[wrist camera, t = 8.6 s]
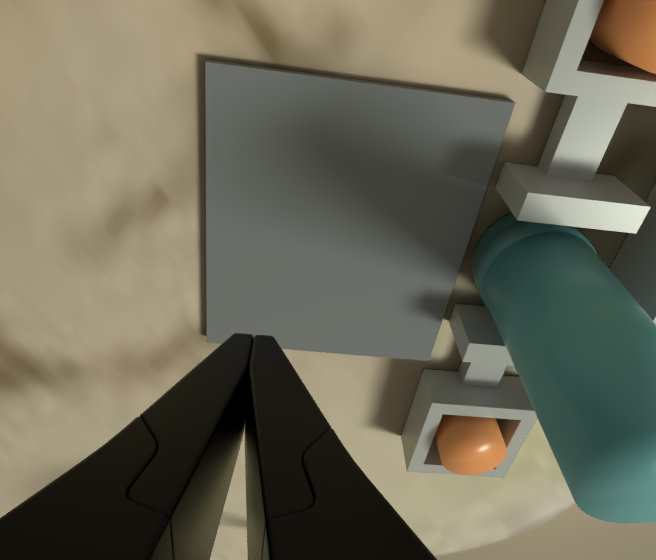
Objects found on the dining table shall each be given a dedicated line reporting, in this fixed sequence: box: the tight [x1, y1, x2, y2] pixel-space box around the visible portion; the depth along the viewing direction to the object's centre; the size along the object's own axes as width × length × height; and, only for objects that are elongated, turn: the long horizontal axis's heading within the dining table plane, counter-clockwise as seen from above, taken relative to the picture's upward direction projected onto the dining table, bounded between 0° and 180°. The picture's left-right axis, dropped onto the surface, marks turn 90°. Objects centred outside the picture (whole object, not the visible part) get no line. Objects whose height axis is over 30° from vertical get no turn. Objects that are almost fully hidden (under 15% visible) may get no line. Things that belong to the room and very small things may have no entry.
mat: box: [205, 59, 515, 361], centre depth 24 cm, size 12×14×1 cm
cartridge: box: [471, 213, 656, 523], centre depth 20 cm, size 5×5×12 cm
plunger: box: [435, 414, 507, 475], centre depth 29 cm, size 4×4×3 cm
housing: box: [401, 0, 656, 478], centre depth 23 cm, size 12×28×4 cm, turn 173°
